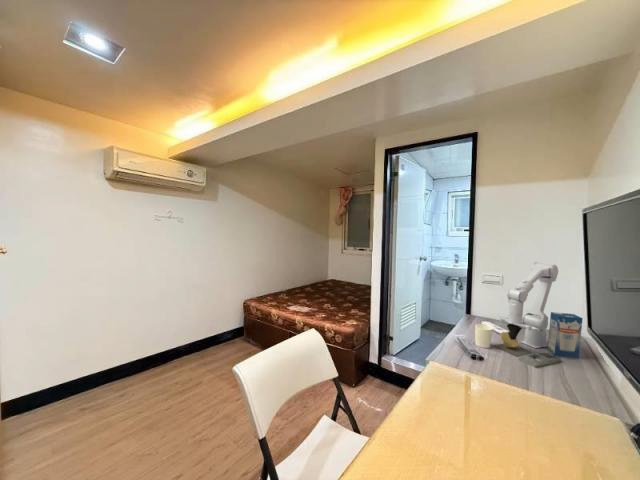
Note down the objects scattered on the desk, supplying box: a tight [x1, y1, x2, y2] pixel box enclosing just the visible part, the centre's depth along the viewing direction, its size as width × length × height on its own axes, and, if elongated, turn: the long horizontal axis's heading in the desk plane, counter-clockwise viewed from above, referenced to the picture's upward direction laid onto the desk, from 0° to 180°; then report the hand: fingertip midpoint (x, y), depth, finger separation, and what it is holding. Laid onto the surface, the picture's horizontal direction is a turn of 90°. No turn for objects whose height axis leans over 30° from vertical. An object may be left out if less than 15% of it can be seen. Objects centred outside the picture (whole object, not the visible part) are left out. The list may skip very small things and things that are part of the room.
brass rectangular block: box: [500, 331, 520, 348], centre depth 139 cm, size 4×4×7 cm
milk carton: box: [547, 311, 583, 360], centre depth 134 cm, size 10×6×20 cm, turn 76°
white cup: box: [474, 323, 494, 349], centre depth 141 cm, size 8×8×10 cm
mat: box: [492, 342, 534, 358], centre depth 138 cm, size 12×12×1 cm
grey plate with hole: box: [518, 350, 562, 368], centre depth 127 cm, size 18×7×2 cm, turn 110°
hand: (513, 339), depth 137 cm, fingers closed, pressing on brass rectangular block
